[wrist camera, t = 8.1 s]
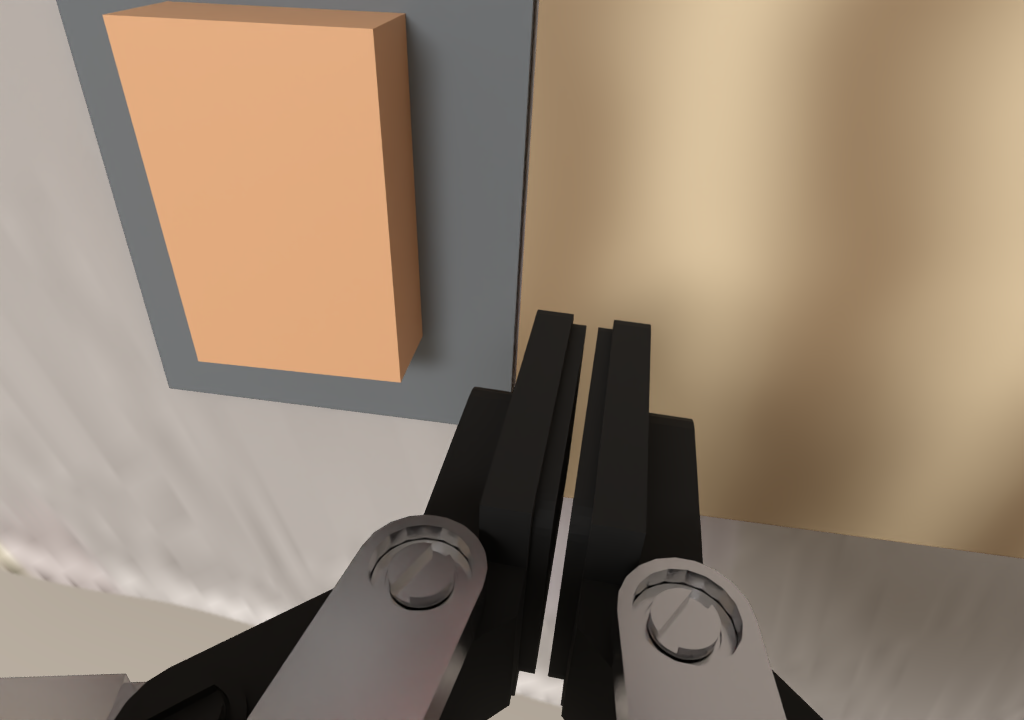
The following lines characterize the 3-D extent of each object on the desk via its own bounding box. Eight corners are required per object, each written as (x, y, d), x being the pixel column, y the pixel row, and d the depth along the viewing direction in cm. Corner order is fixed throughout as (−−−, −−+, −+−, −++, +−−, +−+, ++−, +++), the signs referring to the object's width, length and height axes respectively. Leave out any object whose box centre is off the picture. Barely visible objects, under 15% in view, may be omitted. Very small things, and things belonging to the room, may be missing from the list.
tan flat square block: (1276, -75, 13) (1490, -69, 10) (972, 458, 21) (1036, 560, 18) (564, -114, 15) (546, -120, 11) (525, 403, 22) (508, 489, 19)
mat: (544, -175, 14) (543, -176, 14) (509, 425, 23) (508, 430, 23) (7, -200, 15) (-3, -201, 15) (174, 383, 24) (169, 388, 24)
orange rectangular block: (102, 14, 15) (166, 1, 17) (198, 361, 20) (239, 318, 22) (372, 28, 14) (405, 13, 16) (400, 382, 19) (422, 336, 21)
